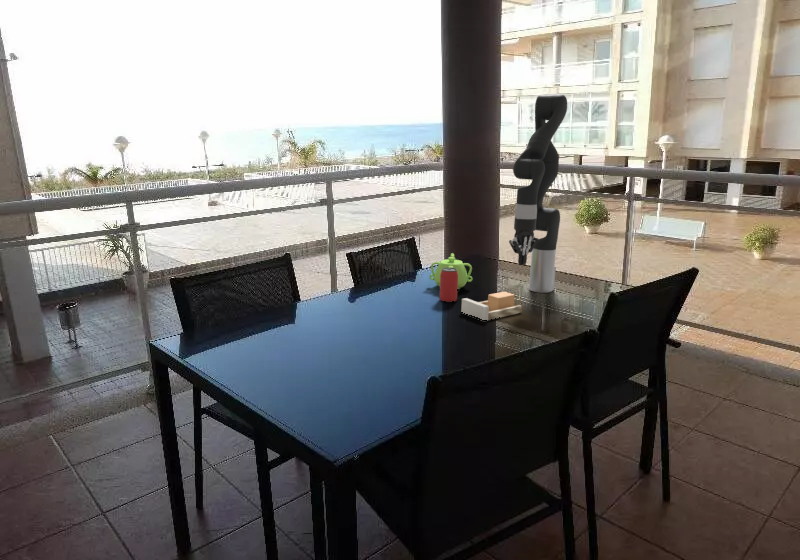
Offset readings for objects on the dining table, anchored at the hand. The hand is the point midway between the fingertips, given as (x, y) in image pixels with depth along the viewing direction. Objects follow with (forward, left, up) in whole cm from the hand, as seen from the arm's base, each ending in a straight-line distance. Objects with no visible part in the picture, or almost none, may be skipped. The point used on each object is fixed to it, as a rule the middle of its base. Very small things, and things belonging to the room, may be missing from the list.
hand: (522, 264), depth 208 cm
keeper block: (+9, 0, -16) cm, 18 cm away
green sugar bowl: (+4, -34, -16) cm, 38 cm away
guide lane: (+13, 0, -16) cm, 20 cm away
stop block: (+22, 0, -16) cm, 27 cm away
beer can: (+17, -20, -16) cm, 31 cm away
